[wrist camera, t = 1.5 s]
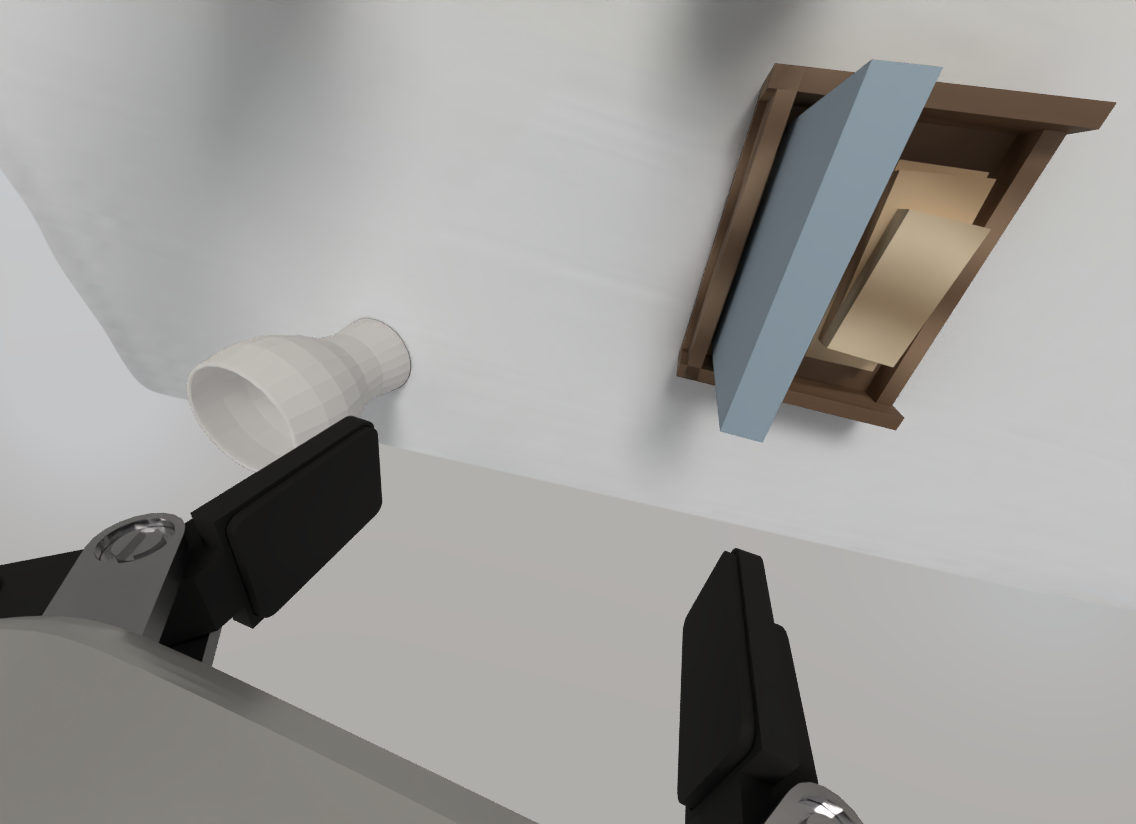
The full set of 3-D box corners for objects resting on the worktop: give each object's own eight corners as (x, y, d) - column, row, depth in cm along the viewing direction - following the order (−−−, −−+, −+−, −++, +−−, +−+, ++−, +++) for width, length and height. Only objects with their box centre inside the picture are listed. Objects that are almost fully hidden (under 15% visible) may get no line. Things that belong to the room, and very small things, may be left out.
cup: (442, 365, 41) (326, 443, 28) (390, 416, 46) (272, 501, 33) (364, 281, 39) (201, 323, 26) (318, 344, 44) (164, 406, 31)
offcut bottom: (888, 161, 24) (899, 159, 23) (973, 173, 23) (989, 172, 22) (800, 349, 30) (805, 356, 29) (865, 363, 29) (872, 371, 28)
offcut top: (897, 208, 22) (909, 209, 21) (974, 227, 22) (991, 229, 21) (820, 340, 27) (826, 348, 25) (883, 359, 26) (893, 367, 25)
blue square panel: (786, 125, 24) (871, 59, 13) (821, 130, 24) (942, 67, 12) (711, 342, 31) (720, 431, 20) (737, 348, 31) (762, 442, 19)
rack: (762, 83, 25) (775, 63, 21) (1044, 118, 22) (1116, 102, 18) (678, 355, 34) (676, 375, 30) (871, 401, 31) (895, 430, 27)
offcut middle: (888, 171, 23) (899, 170, 22) (979, 179, 22) (996, 178, 21) (817, 338, 28) (823, 345, 27) (889, 350, 27) (899, 358, 26)
